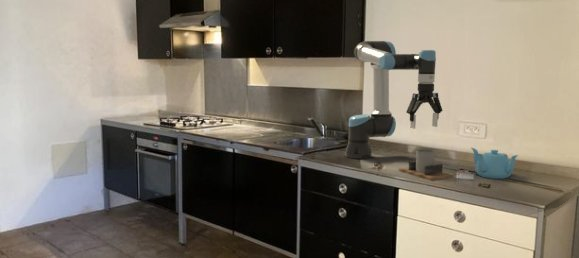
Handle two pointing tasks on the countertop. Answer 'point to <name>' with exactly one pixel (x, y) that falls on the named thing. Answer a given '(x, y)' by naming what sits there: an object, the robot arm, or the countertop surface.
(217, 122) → the countertop surface
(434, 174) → the end holder
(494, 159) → the teapot
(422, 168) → the cup
